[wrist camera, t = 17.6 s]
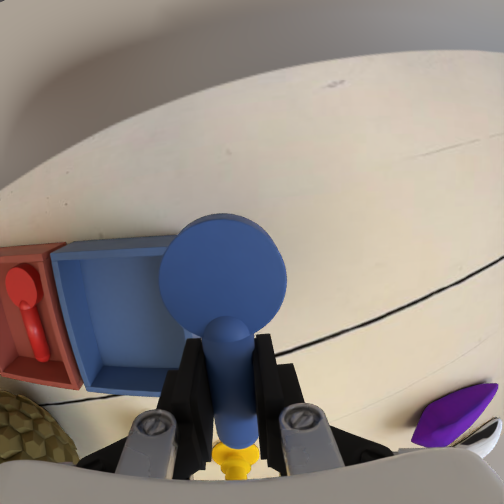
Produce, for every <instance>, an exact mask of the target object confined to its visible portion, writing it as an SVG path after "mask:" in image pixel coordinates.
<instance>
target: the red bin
mask: <svg viewBox="0 0 504 504" xmlns="http://www.w3.org/2000/svg"><path fill="white" fill-rule="evenodd" d="M64 246H66V242H61V243H48V244H36V245H24V246H12V247H1V248H0V374H1V376H3V377H7V378H12V379H16V380H21V381H26V382H31V383H36V384H41V385H47V386H53V387H59V388H65V389H72V390H79V389H80V388H81V386H82V385H83V383H84V382H83V379H82V377H81V374H80V371H79V368H78V365H77V362H76V359H75V356H74V353H73V349H72V346H71V343H70V339H69V336H68V332H67V329H66V325H65V321H64V317H63V313H62V309H61V305H60V301H59V297H58V292H57V288H56V283H55V278H54V273H53V267H52V261H51V256H50V253H51V252H53V251H55V250H58V249H60V248H62V247H64ZM21 263H26V264H30V265H31V266H33V267H34V268H35V269H36V270H37V271H38V272H39V274H40V278H41V283H42V287H43V292H44V295H43V298H42V300H41V301H40V302H39V303H38V304H37V309H38V313H39V316H40V320H41V324H42V327H43V330H44V334H45V337H46V340H47V343H48V346H49V349H50V353H51V356H50V359H49V360H48V361H47V362H44V363H42V362H39V361H38V360H37V359H36V358H35V356H34V353H33V350H32V347H31V344H30V341H29V338H28V335H27V332H26V329H25V326H24V322H23V319H22V316H21V312H20V308H19V307H17V306H16V305H15V304H14V303H13V302H12V300H11V299H10V297H9V295H8V293H7V290H6V284H5V280H6V275H7V273H8V271H9V270H10V269H11V268H13V267H15V266H17V265H19V264H21Z"/></svg>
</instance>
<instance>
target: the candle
mask: <svg viewBox="0 0 504 504" xmlns="http://www.w3.org/2000/svg"><path fill="white" fill-rule="evenodd" d="M212 458H213V460H214V461H215V462H216V463H217V464H219V465H221V471H222V472H223V473H224V474H226V475H225V480H247V475H246V474H248V473H249V472H250V471H251V465H253V464H254V463H255V462H257V461H258V459H259V450H258V448H257V447H256V446H255V445H254V444H253V445H251V446H250V447H248V448H245V449H232V448H229V447H227V446H226V445H224V444H223V443H222V442H220V443H218V444H217V445H215V447H214V448H213V450H212Z"/></svg>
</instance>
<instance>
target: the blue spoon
mask: <svg viewBox="0 0 504 504" xmlns="http://www.w3.org/2000/svg"><path fill="white" fill-rule="evenodd" d="M158 286H159V291H160V295H161V298H162V301H163V303H164V305H165V307H166V309H167V311H168V312H169V313H170V315H171V316H172V317H173V319H174V320H175V321H176V322H177V323H178V324H180V325H181V326H182V327H183V328H185V329H186V330H188V331H189V332H191V333H193V334H195V335H197V336H200V337H201V339H202V345H203V352H204V356H205V363H206V369H207V376H208V382H209V388H210V394H211V400H212V406H213V411H214V419H215V424H216V430H217V434H218V437H219V439H220V440H221V442H222V443H223V444H224V445H226V446H227V447H229V448H232V449H245V448H248V447H250V446H251V445H253V444H254V443H255V442H256V440H257V439H258V436H259V434H258V424H257V414H256V399H255V384H254V369H253V354H252V352H253V350H254V348H255V344H254V333H255V332H257V331H259V330H260V329H262V328H263V327H264V326H266V325H267V324H268V323H269V322H270V321H271V320H272V319H273V317H274V316H275V315H276V313H277V312H278V310H279V309H280V307H281V305H282V303H283V300H284V297H285V293H286V287H287V275H286V269H285V264H284V261H283V259H282V256H281V254H280V252H279V251H278V249H277V247H276V245H275V244H274V242H273V240H272V239H271V237H270V236H269V235H268V233H267V232H266V231H265V230H264V229H263V228H261V227H260V226H259V225H258V224H256V223H255V222H253V221H251V220H249V219H247V218H245V217H242V216H238V215H235V214H227V213H219V214H211V215H207V216H204V217H201V218H199V219H197V220H195V221H193V222H191V223H190V224H188V225H187V226H186V227H185V228H183V229H182V231H181V232H180V233H179V234H178V235H177V236H176V237H175V238H174V239H173V240H172V241H171V243H170V244H169V246H168V247H167V248H166V250H165V252H164V254H163V256H162V259H161V262H160V266H159V271H158Z"/></svg>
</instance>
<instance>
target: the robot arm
mask: <svg viewBox="0 0 504 504" xmlns="http://www.w3.org/2000/svg"><path fill="white" fill-rule="evenodd" d="M254 344H255V348H254V350H253V352H252V354H253V369H254V384H255V399H256V414H257V424H258V434H259V444H260V454H261V460H265V459H267V463H268V467H271V468H273V469H275V470H276V471H278V472H279V477H273V478H262V479H247V480H215V481H204V480H194V478H193V474H194V473H195V472H197V471H198V470H205V467H206V462H211V455H212V438H213V421H214V411H213V406H212V400H211V394H210V388H209V382H208V376H207V369H206V363H205V356H204V352H203V345H202V340H201V338H187V339H186V343H185V347H184V351H183V354H182V358H181V362H180V366H179V370H168V372H167V374H166V378H165V381H164V384H163V388H162V391H161V394H160V398H159V401H158V405H157V408H156V409H155V410H149V411H145V412H143V413H141V414H140V415H138V416H137V417H136V418H135V420H134V421H133V424H132V427H131V429H130V432H129V435H128V436H127V437H125V438H123V439H121V440H119V441H117V442H115V443H113V444H111V445H109V446H107V447H105V448H103V449H101V450H98V451H96V452H94V453H92V454H90V455H88V456H85V457H84V458H82V459H81V460H80V461H79V462H78V463H77V464H73V462H59V463H52V462H45V461H36V460H14V461H8V462H4V463H2V464H0V504H504V482H503V481H502V479H501V478H500V477H499V476H498V475H497V473H496V472H495V471H494V470H493V468H492V467H490V465H489V464H488V463H487V462H486V461H485V460H484V459H483V458H481V457H480V456H479V455H477V454H476V453H474V452H472V451H470V450H467V449H463V448H456V447H449V446H448V447H433V448H400V449H399V450H398V452H392V451H391V450H390V449H389V448H388V447H386V446H383V445H381V444H378V443H375V442H373V441H370V440H367V439H364V438H361V437H359V436H356V435H353V434H351V433H348V432H345V431H343V430H340V429H338V428H335V427H333V426H330V425H329V423H328V420H327V418H326V415H325V413H324V412H323V410H322V409H321V408H319V407H318V406H316V405H313V404H309V403H305V402H304V398H303V395H302V392H301V388H300V385H299V382H298V378H297V375H296V372H295V368H294V365H293V363H290V364H279V365H277V363H276V359H275V354H274V350H273V345H272V341H271V336H270V334H257V335H256V338H254Z"/></svg>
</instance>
